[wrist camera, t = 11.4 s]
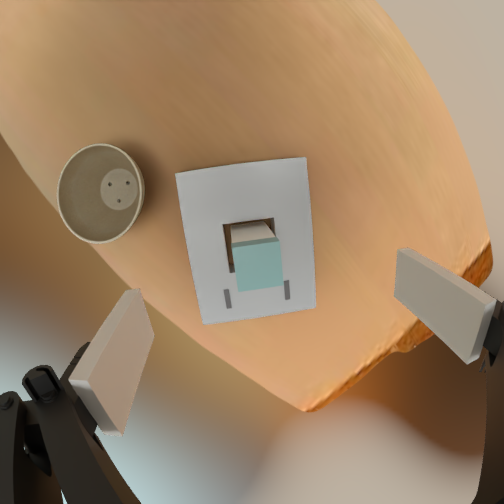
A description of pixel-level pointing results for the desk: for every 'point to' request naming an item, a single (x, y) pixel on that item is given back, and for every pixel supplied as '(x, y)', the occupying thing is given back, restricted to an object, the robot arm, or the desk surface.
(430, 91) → the desk surface
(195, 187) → the outlet plate
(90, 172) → the flower pot
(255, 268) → the block
